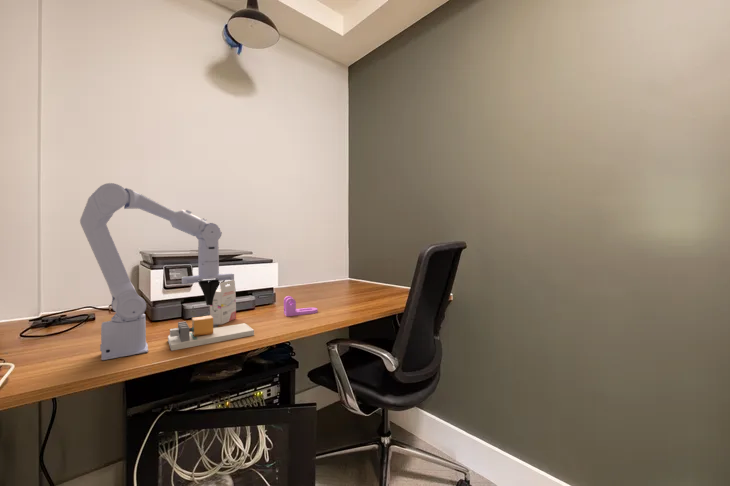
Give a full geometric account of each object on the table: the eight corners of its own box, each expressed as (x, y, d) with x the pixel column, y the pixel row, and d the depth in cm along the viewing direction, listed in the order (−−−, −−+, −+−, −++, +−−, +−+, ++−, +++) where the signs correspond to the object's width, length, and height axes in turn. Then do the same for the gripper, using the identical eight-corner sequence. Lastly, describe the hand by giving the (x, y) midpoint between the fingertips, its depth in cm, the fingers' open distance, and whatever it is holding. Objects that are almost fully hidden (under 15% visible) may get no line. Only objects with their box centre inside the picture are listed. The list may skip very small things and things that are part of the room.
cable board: (171, 350, 83) (170, 331, 83) (167, 340, 91) (167, 322, 91) (254, 334, 96) (253, 318, 96) (244, 327, 104) (244, 311, 104)
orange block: (194, 336, 89) (194, 320, 89) (192, 333, 92) (191, 317, 92) (213, 333, 92) (213, 317, 92) (210, 330, 95) (210, 315, 95)
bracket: (286, 316, 119) (286, 298, 119) (283, 313, 124) (283, 296, 124) (319, 313, 124) (318, 296, 124) (315, 310, 130) (315, 293, 129)
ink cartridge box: (224, 317, 117) (224, 279, 117) (236, 318, 116) (236, 279, 116) (209, 324, 109) (208, 282, 108) (221, 324, 108) (221, 282, 107)
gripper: (183, 263, 89) (184, 310, 89) (236, 260, 98) (236, 303, 98) (180, 261, 95) (181, 306, 95) (230, 259, 103) (231, 300, 104)
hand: (209, 304), depth 97 cm, fingers closed
